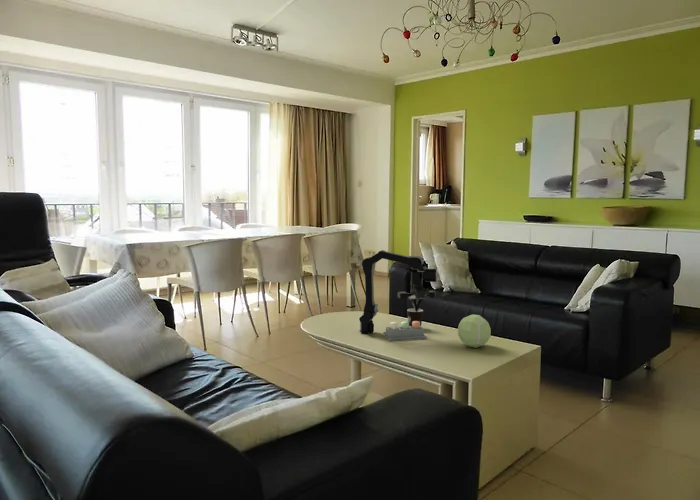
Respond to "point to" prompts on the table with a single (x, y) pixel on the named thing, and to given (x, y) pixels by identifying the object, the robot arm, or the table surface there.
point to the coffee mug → (414, 316)
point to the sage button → (404, 325)
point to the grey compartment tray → (405, 334)
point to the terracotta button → (416, 324)
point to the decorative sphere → (474, 331)
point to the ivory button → (393, 325)
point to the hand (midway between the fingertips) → (416, 311)
